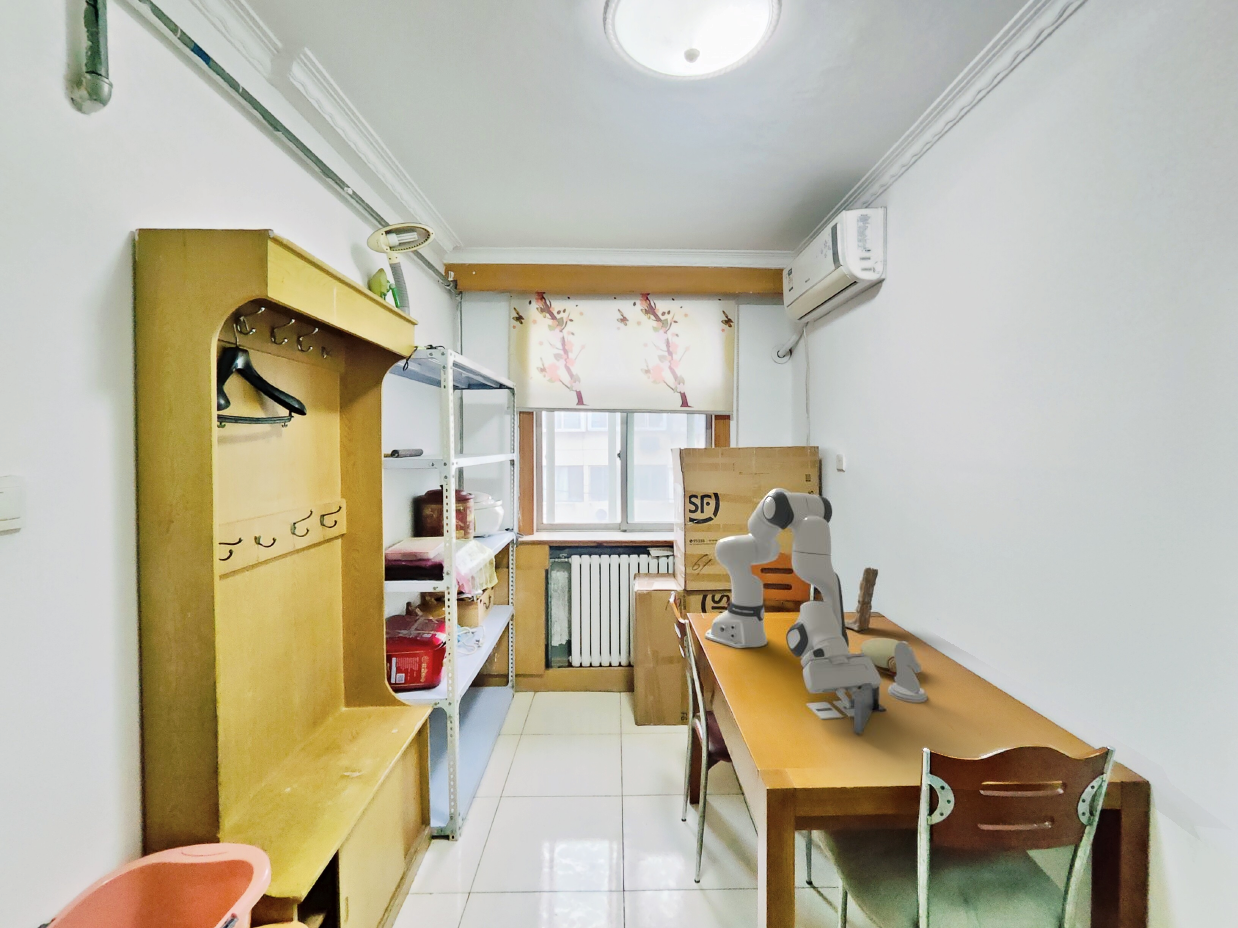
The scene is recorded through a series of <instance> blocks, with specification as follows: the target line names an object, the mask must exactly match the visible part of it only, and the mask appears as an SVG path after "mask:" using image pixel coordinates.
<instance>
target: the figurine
mask: <svg viewBox="0 0 1238 928" xmlns="http://www.w3.org/2000/svg"><path fill="white" fill-rule="evenodd" d="M878 576H879V569H877V568H874V567H865V568H864V569H863V574H862V577H861V578H862V579H861V580H860V582H859V588H858V589H859V594H858V596H857V598H858V599H857V605H856V608H855V613H856V615H855V618H854V619H845V628H848V629H852V630H854V631H856V632H860V631H861V632H862V631H864V630H867V629H869V627H870V624H871V623H870V622H871V615H872V614H871V613H872V612H871V611H872V608H873V606H872V601H873V595H874V591H875V590H874V589H875V586H876V583H877V578H878Z"/></svg>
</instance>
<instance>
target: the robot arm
mask: <svg viewBox="0 0 1238 928" xmlns="http://www.w3.org/2000/svg"><path fill="white" fill-rule="evenodd" d="M832 516H833V507H832V504H831V502H830V500H829V499H827V498H826V497H824V496H821V495H819V494H810V493H806V492H791V491H790V490H787V489H785V488H782V487H776V488H772V489H771V490H770V491H769V492H768V493H767V494H766V495H764V497H763V498H762V499H761V501H759V503H758V505H757V506H756V508H755V509H754V511H753V512H752V514H751V516H750V517H749V519H748V521H747V529H748V531H749V533H748V534H743V535H731V536H730V535H729V536H726V537H723V538H721V539H719V540H718V541H717V542H716V544H715V546H714V555H715V556H714V557H715V558H716V561H718V563H719V564H720V565H721V566H723V568H725V570H726V571H727V573H728V576H729V578H730V583H731V599H730V600H729V601H728V602H726V604H725V608H726V609H727V610H725V611H723V612H722V613H720V614H719V615H718V616H716V617H715V618H714V619H713V621H712V622H711V628H710V629H708V630H707V631H706V632H705V633H704V634H705V635H704V638H705V639H706V640H711V641H714V642H716V643H719V644H723V645H726V646H728V647H729V646H730V647H732V648H735V649H743V648H759V647H763V646H765V645H767V644H768V639H767V636H766V631H765V624H764V619H765V603H764V598H763V597H764V584H763V581H762V580H761V579H760V578H759V577H758V576H756V575H755V574H753V572H752V566H754V565H764V564H768V563H770V562H773V561H775V560H777V559H778V558H779V556H780V552H781V546H780V542H779V540H778V536H779V534H780V533H781V531H782V530H783V531H785V529H787V528H788V529H789V530H790V531H791V533H792V548H791V566H792V567H791V568H792V570H793V572H794V573H795V574H796V576H797V577H799V578H800V580H802V581H804V582H805V583H807V584H809V585H812V586H814V587H815V589H816V588H817V590H818V591H819V592H820V594H821V596H822V600H821V599H813V600H808V601H804V602H803V603H802V604H801V605H800V607H799V615H798V618H797V619H796V621H795V623H793V625H791V626H790V627H789V629H788V630H787V632H786V634H785V635H786V636H785V638H786V644H787V647H788V649H789V650H790V652H791V653H792V654H793V655H794V657H796V658H800V665H801V666H802V668H803V670H802V675H803V676H802V677H803V681H804V685H805V687H806V690H807V691H808V692H809V693H810V694H820V693H821V694H822V693H823V694H824V693H836V695H837V697H839V698H840V701H843V702H844V703H845V705H846V708H847V709H848V708H854V700H855V698H856V696H857V694H858V693H859V691H860V689H861V687H862V686H863V684H864V683H871V685H872V687H873V689H874V688H877V687H878V686H879V687H880V686H881V685H882V681H883V680H882V677H881V675H880V672H879V671H878V669H877V668H875V666H874V664H873V663H872V661H871V658H870V657H869V656H867V655H865V654H863V653H861V652H859V653H851V652H850V649H849V647H850V640H849V636H848V635H849V634H848V633H847V627H845V621H846V619H845V612H844V601H843V600H844V599H843V591H842V584H841V580H840V577H839V575H838V573H836V572H835V570H834V567H833V565H832V537H831V530H830V524H829V523H830V522H831V521H832ZM864 656H866V657H864ZM878 672H879V673H878ZM846 691H847V692H849V695H852V696H851V697H852V698H849V697H848V696H847V695H846V694H845V693H846Z"/></svg>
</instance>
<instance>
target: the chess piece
mask: <svg viewBox="0 0 1238 928" xmlns="http://www.w3.org/2000/svg"><path fill="white" fill-rule="evenodd" d="M894 651H895V652H894V658H895V663H896V667H897V675H896V676H893V677H894V681H895V682H893V683H891V685H889V686H888V689H887V691H888V694H889V695H890V696H892V697H893V698H895V699H896V700H898V701H899V700H900V701H903V702H907V703H924V702H926V701H927V699H928V696H927V693H926V691H925V690H924V689H923V688H921V683H920V681H919V680H918V677H917V675H916V674H919V673H921V672H922V665H921V663H919V661H918V659H917V658H916V655H915V652H914V650H913V649H912V647H911V646H909V642H907V641H905V640H903V641H900V642H898V644H897V645H896V647H895V650H894Z"/></svg>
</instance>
